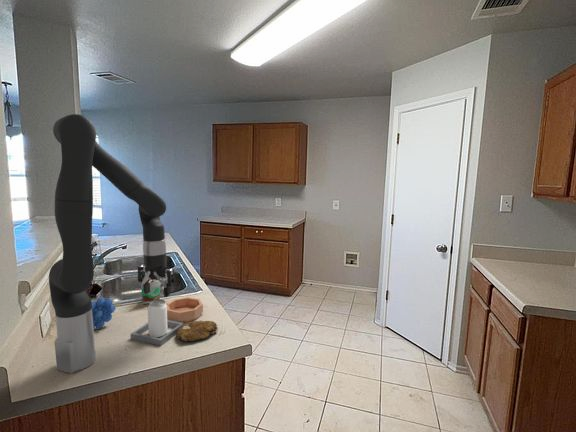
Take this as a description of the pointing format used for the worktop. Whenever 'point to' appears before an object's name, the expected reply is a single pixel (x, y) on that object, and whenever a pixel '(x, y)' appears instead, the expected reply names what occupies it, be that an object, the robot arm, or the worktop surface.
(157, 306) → the can
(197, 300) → the bowl
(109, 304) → the grapes
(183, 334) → the decorative rock
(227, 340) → the worktop surface
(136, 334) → the tray
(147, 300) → the food container
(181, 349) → the worktop surface
